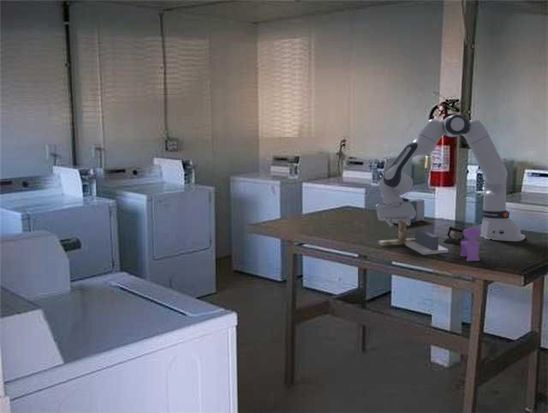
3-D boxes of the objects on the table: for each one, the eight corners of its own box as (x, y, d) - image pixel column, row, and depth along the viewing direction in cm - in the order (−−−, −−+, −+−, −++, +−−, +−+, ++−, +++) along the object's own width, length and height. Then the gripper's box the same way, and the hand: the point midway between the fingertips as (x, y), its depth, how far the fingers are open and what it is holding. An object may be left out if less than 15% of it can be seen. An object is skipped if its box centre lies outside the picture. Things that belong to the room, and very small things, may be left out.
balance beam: (422, 241, 318) (422, 218, 316) (425, 242, 314) (425, 219, 312) (378, 244, 313) (378, 221, 311) (381, 246, 309) (381, 222, 307)
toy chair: (475, 255, 285) (476, 224, 283) (482, 260, 277) (483, 227, 274) (457, 256, 285) (458, 224, 283) (464, 261, 276) (465, 228, 274)
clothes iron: (449, 241, 317) (455, 223, 315) (468, 249, 310) (474, 231, 307) (442, 242, 313) (447, 223, 310) (461, 250, 305) (466, 232, 302)
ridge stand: (405, 245, 308) (405, 229, 307) (429, 243, 311) (429, 228, 310) (423, 254, 289) (423, 238, 288) (448, 252, 292) (448, 236, 290)
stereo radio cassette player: (399, 225, 357) (400, 191, 354) (389, 223, 364) (390, 190, 360) (425, 220, 368) (425, 188, 365) (414, 219, 375) (415, 186, 372)
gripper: (375, 201, 317) (382, 223, 309) (412, 199, 321) (420, 220, 314) (372, 208, 322) (379, 230, 315) (409, 206, 326) (416, 227, 319)
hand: (400, 225), depth 314 cm, fingers open, 8 cm apart
